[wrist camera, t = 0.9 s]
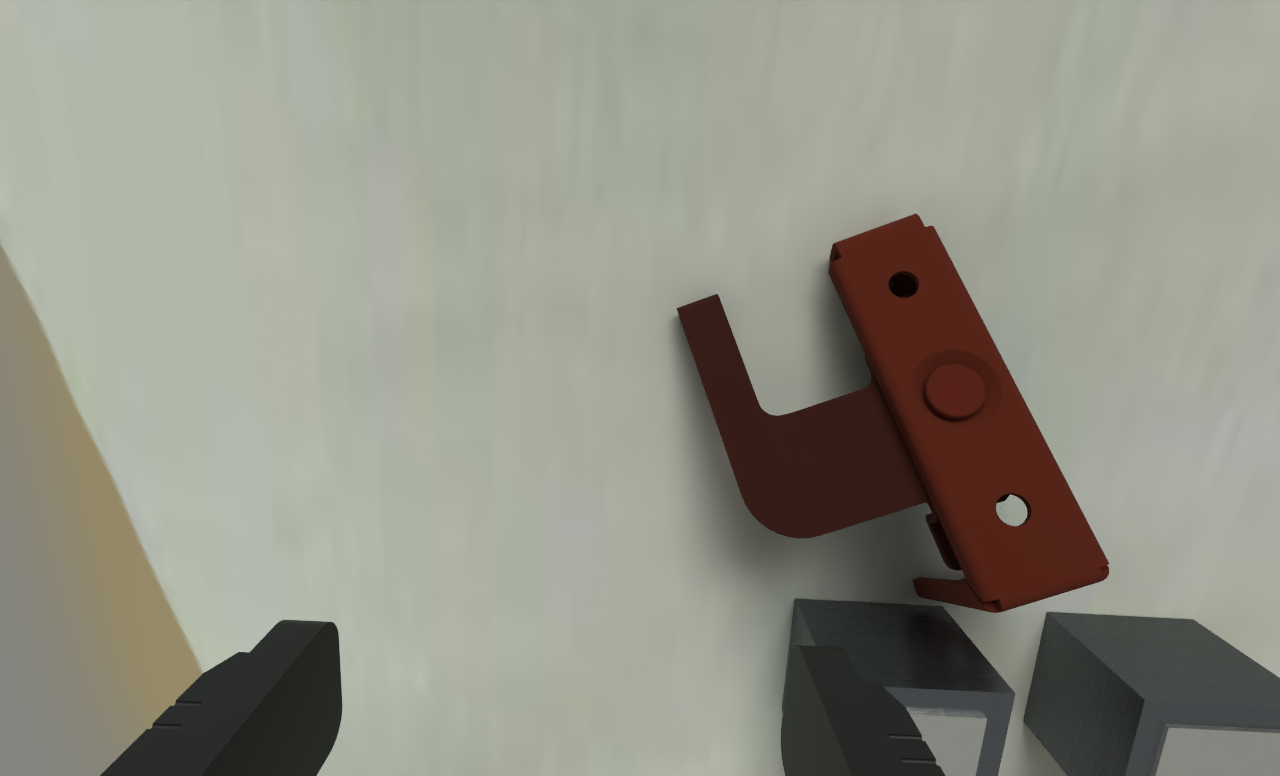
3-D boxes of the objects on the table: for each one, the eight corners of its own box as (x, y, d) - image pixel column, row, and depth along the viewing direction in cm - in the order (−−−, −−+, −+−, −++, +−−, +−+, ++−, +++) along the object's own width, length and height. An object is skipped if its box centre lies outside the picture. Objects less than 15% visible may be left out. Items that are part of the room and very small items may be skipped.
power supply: (942, 606, 30) (1018, 697, 24) (922, 720, 32) (989, 832, 26) (795, 598, 30) (833, 687, 24) (781, 712, 31) (814, 824, 25)
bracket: (790, 640, 31) (806, 674, 21) (694, 369, 35) (671, 297, 26) (1006, 572, 30) (1122, 577, 20) (880, 304, 34) (927, 205, 25)
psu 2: (1193, 619, 30) (1331, 713, 24) (1162, 732, 32) (1285, 846, 26) (1047, 611, 30) (1149, 703, 24) (1022, 725, 32) (1113, 838, 26)
